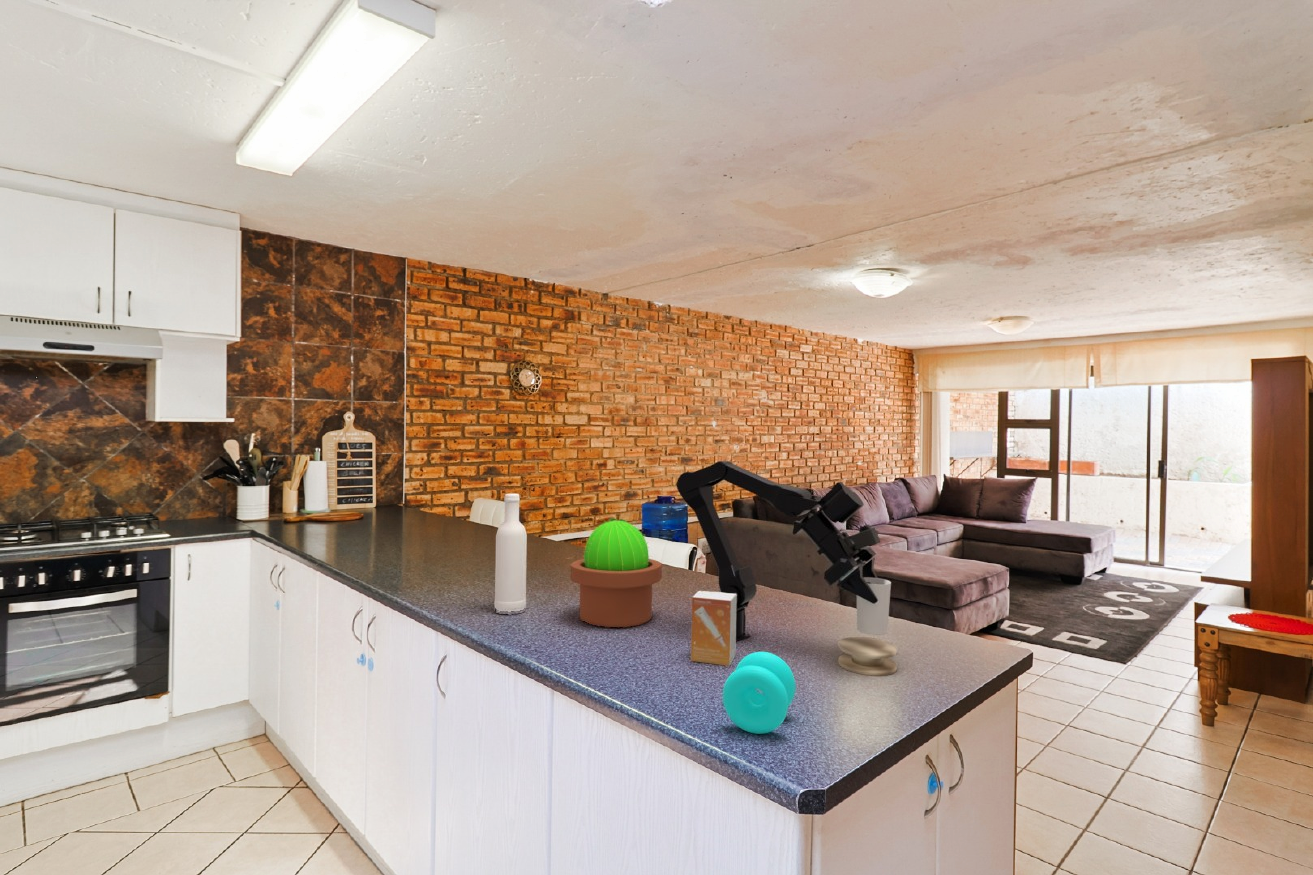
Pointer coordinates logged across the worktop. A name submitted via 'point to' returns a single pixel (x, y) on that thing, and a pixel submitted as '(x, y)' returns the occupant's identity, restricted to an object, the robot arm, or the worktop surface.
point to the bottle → (511, 559)
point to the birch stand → (867, 656)
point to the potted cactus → (616, 576)
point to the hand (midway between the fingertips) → (880, 598)
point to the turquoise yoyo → (748, 702)
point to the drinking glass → (874, 608)
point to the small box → (713, 627)
